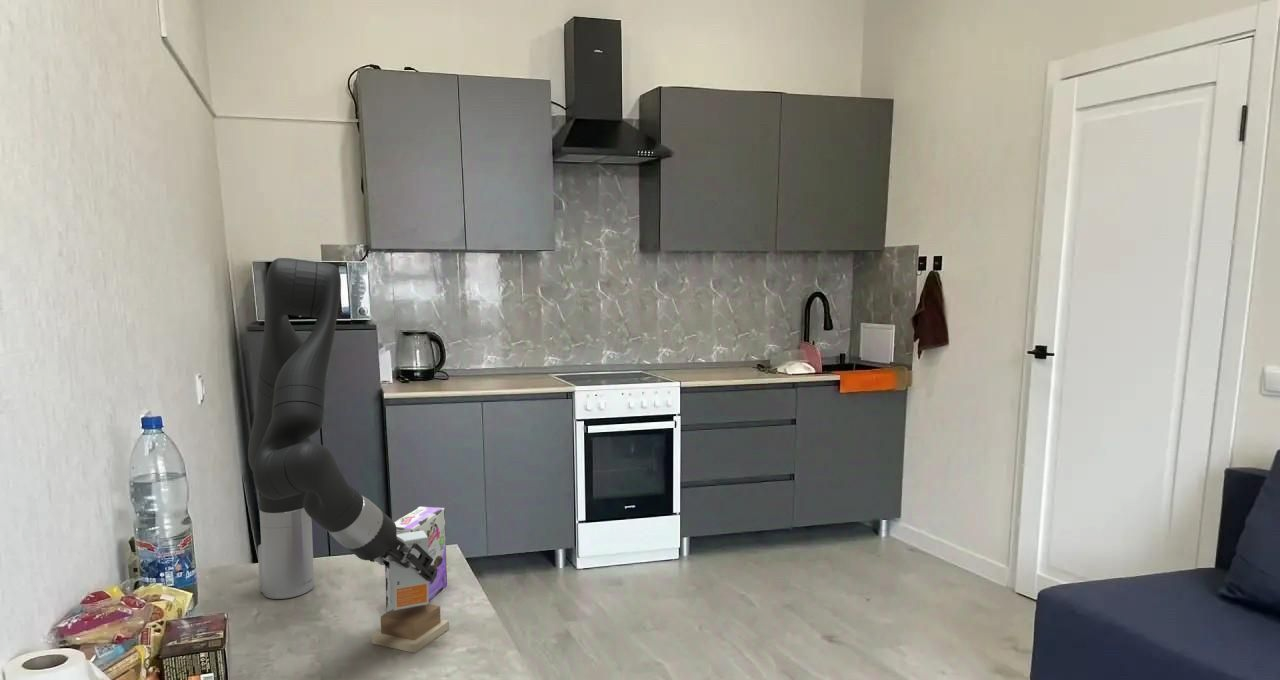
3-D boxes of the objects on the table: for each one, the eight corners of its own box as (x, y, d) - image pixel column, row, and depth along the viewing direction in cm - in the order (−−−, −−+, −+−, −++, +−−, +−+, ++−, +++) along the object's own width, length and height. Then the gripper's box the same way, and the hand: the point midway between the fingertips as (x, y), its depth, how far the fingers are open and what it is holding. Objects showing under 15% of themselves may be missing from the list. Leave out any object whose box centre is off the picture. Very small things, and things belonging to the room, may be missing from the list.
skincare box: (393, 612, 122) (391, 542, 121) (389, 602, 126) (387, 534, 125) (430, 604, 125) (428, 536, 124) (425, 595, 128) (423, 529, 128)
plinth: (372, 643, 123) (371, 618, 123) (407, 620, 132) (407, 596, 131) (415, 653, 120) (414, 626, 120) (448, 629, 128) (448, 604, 128)
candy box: (414, 615, 134) (411, 528, 133) (385, 613, 135) (382, 526, 134) (448, 585, 147) (446, 506, 146) (421, 583, 148) (419, 504, 147)
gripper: (406, 511, 114) (458, 559, 125) (341, 499, 120) (396, 546, 132) (381, 554, 110) (437, 600, 121) (315, 540, 116) (374, 585, 127)
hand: (415, 572), depth 126 cm, fingers closed on skincare box, 6 cm apart
